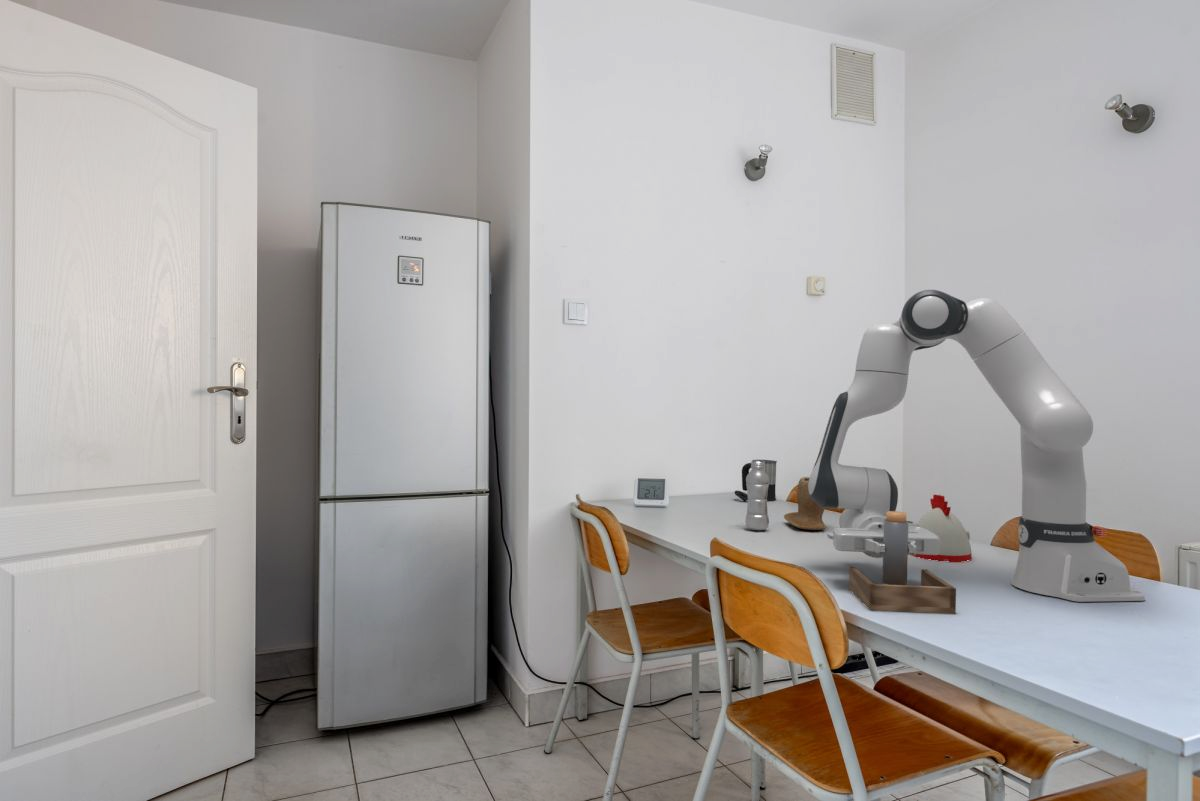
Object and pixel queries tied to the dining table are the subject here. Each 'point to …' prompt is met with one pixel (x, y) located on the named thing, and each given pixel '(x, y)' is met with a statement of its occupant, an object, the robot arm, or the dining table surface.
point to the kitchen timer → (946, 532)
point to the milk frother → (771, 473)
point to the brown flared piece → (806, 510)
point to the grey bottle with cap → (895, 548)
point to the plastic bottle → (757, 497)
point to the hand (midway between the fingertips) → (896, 549)
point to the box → (905, 594)
